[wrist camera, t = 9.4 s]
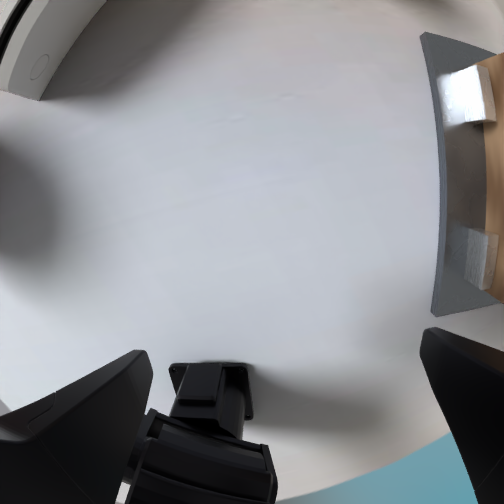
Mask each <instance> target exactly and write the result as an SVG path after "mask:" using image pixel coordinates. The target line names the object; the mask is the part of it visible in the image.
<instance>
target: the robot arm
mask: <svg viewBox="0 0 504 504" xmlns="http://www.w3.org/2000/svg"><path fill="white" fill-rule="evenodd" d="M420 358H421V360H422V363H423V366H424V368H425V371H426V374H427V376H428V379H429V382H430V385H431V388H432V390H433V393H434V395H435V397H436V399H437V401H438V403H439V406H440V408H441V410H442V412H443V414H444V416H445V419H446V421H447V423H448V425H449V428H450V430H451V432H452V434H453V437H454V439H455V442H456V444H457V446H458V449H459V452H460V454H461V457H462V459H463V462H464V464H465V467H466V469H467V472H468V475H469V477H470V480H471V483H472V486H473V489H474V490H475V491H474V492H475V495H476V498H477V501H478V504H504V352H503V351H500V350H497V349H495V348H492V347H489V346H486V345H484V344H481V343H478V342H475V341H473V340H470V339H467V338H465V337H462V336H459V335H456V334H454V333H451V332H448V331H445V330H443V329H440V328H437V327H432V328H427V329H425V330H424V332H423V337H422V341H421V346H420ZM174 369H176V370H177V371H176V370H174ZM239 369H243V370H239ZM169 373H170V377H171V380H172V383H173V387H174V390H175V393H176V398H175V401H174V403H173V406H172V409H171V412H170V414H169V416H166V415H164V414H161V413H159V412H157V410H155V409H152V408H150V410H149V412H148V413H147V415H145V414H144V413H145V409H146V405H147V401H148V396H149V392H150V387H151V383H152V379H153V370H152V366H151V363H150V360H149V357H148V354H147V352H146V351H145V350H132V351H131V352H129V353H127V354H125V355H123V356H121V357H120V358H118V359H116V360H114V361H112V362H110V363H109V364H107V365H105V366H103V367H101V368H99V369H97V370H96V371H94V372H92V373H90V374H88V375H86V376H84V377H82V378H81V379H79V380H77V381H75V382H73V383H71V384H69V385H67V386H65V387H63V388H62V389H60V390H58V391H56V393H55V392H54V393H52V394H50V395H48V396H46V397H44V398H42V399H40V400H38V401H36V402H34V403H31V404H29V405H27V406H24V407H22V408H20V409H17V410H15V411H12V412H10V413H7V414H5V415H2V416H0V504H115V501H116V498H117V495H118V492H119V488H120V485H121V482H124V483H126V484H129V485H131V486H130V489H129V492H128V495H127V498H126V501H125V504H274V503H275V501H276V496H277V490H278V481H277V476H276V472H275V469H274V465H273V462H272V458H271V454H270V451H269V447H268V445H265V444H260V445H259V444H255V443H251V442H247V441H243V440H242V437H243V426H244V420H252V419H253V416H254V413H253V405H252V398H251V390H250V382H249V374H248V367H247V366H246V365H245V364H243V363H230V364H219V363H210V364H196V363H190V364H177V363H174V364H171V365H170V367H169ZM247 415H249V416H247Z"/></svg>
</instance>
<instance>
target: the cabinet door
mask: <svg viewBox="0 0 504 504" xmlns="http://www.w3.org/2000/svg"><path fill="white" fill-rule="evenodd" d="M473 65H479V66H482V67H485V68H487V69H488V73H489V77H490V82H491V87H492V92H493V98H494V104H495V111H496V118H497V121H496V122H487V123H483V129H484V139H485V152H486V175H487V202H486V225H485V230H487V231H489V232H492V233H495V234H497V235H499V239H498V249H497V257H496V265H495V271H494V278H493V283H492V288H490V289H485V290H484V291H486V292H487V293H488V294H490V295H491V296H493V297H494V298H496V299H497V300H498V301H500V302H501V303H503V304H504V53H501V54H498V55H496V56H493V57H490V58H488V59H485V60H483V61H480V62H478V63H475V64H473Z"/></svg>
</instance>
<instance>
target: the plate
mask: <svg viewBox="0 0 504 504" xmlns="http://www.w3.org/2000/svg"><path fill="white" fill-rule="evenodd" d="M420 40H421V44H422V48H423V52H424V56H425V61H426V65H427V70H428V75H429V81H430V86H431V92H432V98H433V105H434V113H435V121H436V130H437V140H438V154H439V173H440V223H439V243H438V256H437V267H436V276H435V285H434V292H433V299H432V306H431V313H432V314H433V315H434V316H435V317H439V316H444V315H449V314H454V313H458V312H463V311H468V310H472V309H476V308H481V307H485V306H489V305H493V304H497V303H501V302H500V301H498V300H497V299H496V298H494V297H493V296H491V295H490V294H488V293H487V292H486V291H484V290H485V289H490V288H492V283H493V278H494V271H495V265H496V257H497V249H498V239H499V235H497V234H495V233H492V232H489V231H487V230H485V225H486V202H487V175H486V152H485V139H484V129H483V123H487V122H496V121H497V118H496V111H495V104H494V98H493V92H492V87H491V82H490V77H489V73H488V69H487V68H485V67H482V66H479V65H473V64H475V63H478V62H480V61H483V60H485V59H488V58H490V57H493V56H496V55H497V54H494V53H492V52H489V51H487V50H484V49H481V48H478V47H476V46H473V45H470V44H467V43H464V42H461V41H457V40H454V39H451V38H447V37H443V36H440V35H436V34H432V33H428V32H424V33H423V34H422V35H420Z"/></svg>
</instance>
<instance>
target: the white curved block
mask: <svg viewBox="0 0 504 504" xmlns="http://www.w3.org/2000/svg"><path fill="white" fill-rule="evenodd" d="M106 1H107V0H8V1H7V3H6V5H5V6H4V8H3V10H2V12H1V13H0V90H2V91H5V92H9V93H12V94H15V95H19V96H22V97H25V98H29V99H33V100H37V101H39V100H40V98H41V96H42V94H43V92H44V91H45V89H46V87H47V85H48V83H49V82H50V80H51V78H52V76H53V75H54V73H55V71H56V70H57V68H58V67H59V65H60V63H61V62H62V60H63V59H64V57H65V56H66V54H67V53H68V51H69V50H70V48H71V47H72V45H73V44H74V42H75V41H76V39H77V38H78V37H79V35H80V34H81V32H82V31H83V30H84V28H85V27H86V26H87V24H88V23H89V22H90V21H91V19H92V18H93V17H94V16H95V14H96V13H97V12H98V11H99V9H100V8H101V7H102V6H103V5H104V3H105V2H106Z"/></svg>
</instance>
